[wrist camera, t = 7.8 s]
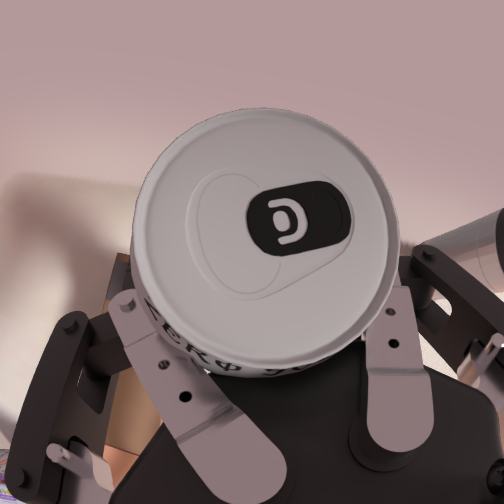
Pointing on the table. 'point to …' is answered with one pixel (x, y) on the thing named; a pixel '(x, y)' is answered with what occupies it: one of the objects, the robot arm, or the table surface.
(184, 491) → the robot arm
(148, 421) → the seesaw beam
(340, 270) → the energy drink can
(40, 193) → the table surface
